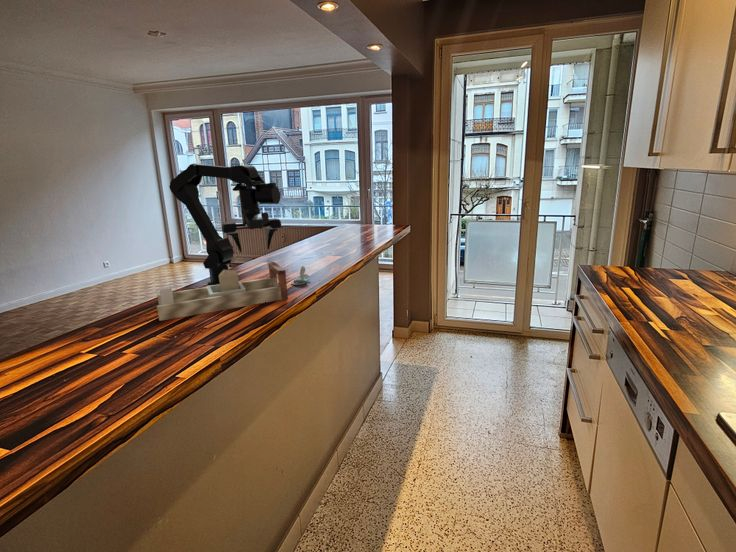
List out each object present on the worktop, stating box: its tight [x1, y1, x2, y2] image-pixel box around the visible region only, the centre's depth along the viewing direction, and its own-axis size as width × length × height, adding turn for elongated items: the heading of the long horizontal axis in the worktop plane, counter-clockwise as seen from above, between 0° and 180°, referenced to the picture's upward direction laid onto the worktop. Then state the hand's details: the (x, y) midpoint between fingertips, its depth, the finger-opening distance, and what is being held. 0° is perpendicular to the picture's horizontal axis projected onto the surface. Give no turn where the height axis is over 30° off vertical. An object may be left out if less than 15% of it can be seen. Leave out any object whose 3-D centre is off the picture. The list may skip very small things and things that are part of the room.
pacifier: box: [290, 265, 311, 286], centre depth 141 cm, size 7×6×6 cm
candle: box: [219, 269, 240, 292], centre depth 123 cm, size 6×6×10 cm
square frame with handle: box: [159, 280, 246, 305], centre depth 120 cm, size 22×10×7 cm, turn 116°
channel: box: [156, 261, 289, 322], centre depth 122 cm, size 36×13×9 cm, turn 116°
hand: (254, 250), depth 139 cm, fingers open, 9 cm apart
